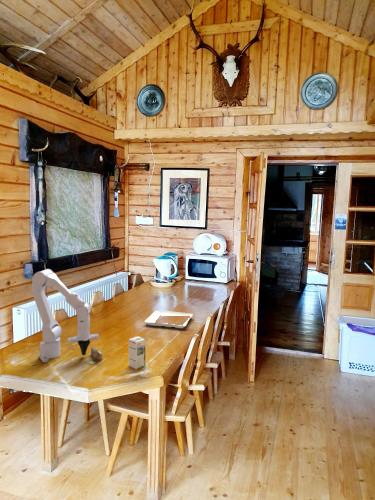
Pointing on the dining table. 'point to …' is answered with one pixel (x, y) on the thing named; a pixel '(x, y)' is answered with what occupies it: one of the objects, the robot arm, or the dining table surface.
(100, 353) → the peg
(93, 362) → the pale green tile
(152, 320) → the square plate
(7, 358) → the dining table surface
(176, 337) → the dining table surface
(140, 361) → the syrup box
